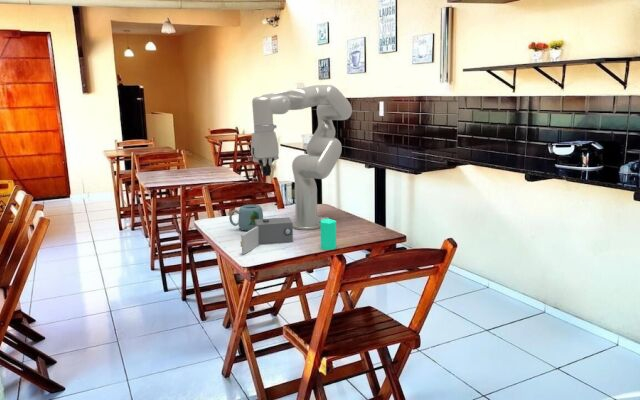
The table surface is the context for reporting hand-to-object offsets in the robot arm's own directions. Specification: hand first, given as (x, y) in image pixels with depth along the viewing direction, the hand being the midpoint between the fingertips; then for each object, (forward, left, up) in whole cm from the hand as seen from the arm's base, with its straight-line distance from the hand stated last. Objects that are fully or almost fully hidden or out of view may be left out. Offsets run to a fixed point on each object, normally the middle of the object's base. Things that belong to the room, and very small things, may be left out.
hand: (266, 175), depth 209 cm
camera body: (-2, +3, -26) cm, 26 cm away
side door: (+9, +14, -26) cm, 30 cm away
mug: (+7, -17, -26) cm, 32 cm away
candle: (-21, +18, -26) cm, 38 cm away
